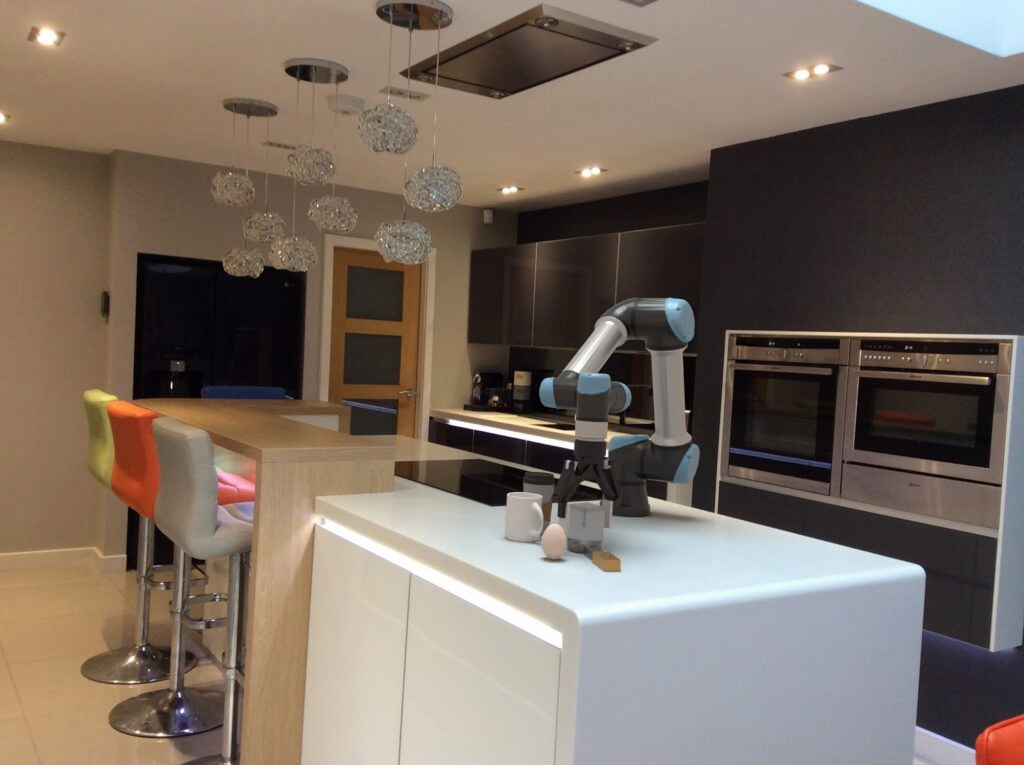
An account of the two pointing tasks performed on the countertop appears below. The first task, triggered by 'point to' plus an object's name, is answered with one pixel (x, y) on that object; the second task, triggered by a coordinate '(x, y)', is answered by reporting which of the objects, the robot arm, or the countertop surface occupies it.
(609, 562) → the ratchet
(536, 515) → the mug
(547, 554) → the egg
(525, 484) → the coffee cup
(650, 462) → the robot arm
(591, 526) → the grey rectangular block
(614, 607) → the countertop surface
